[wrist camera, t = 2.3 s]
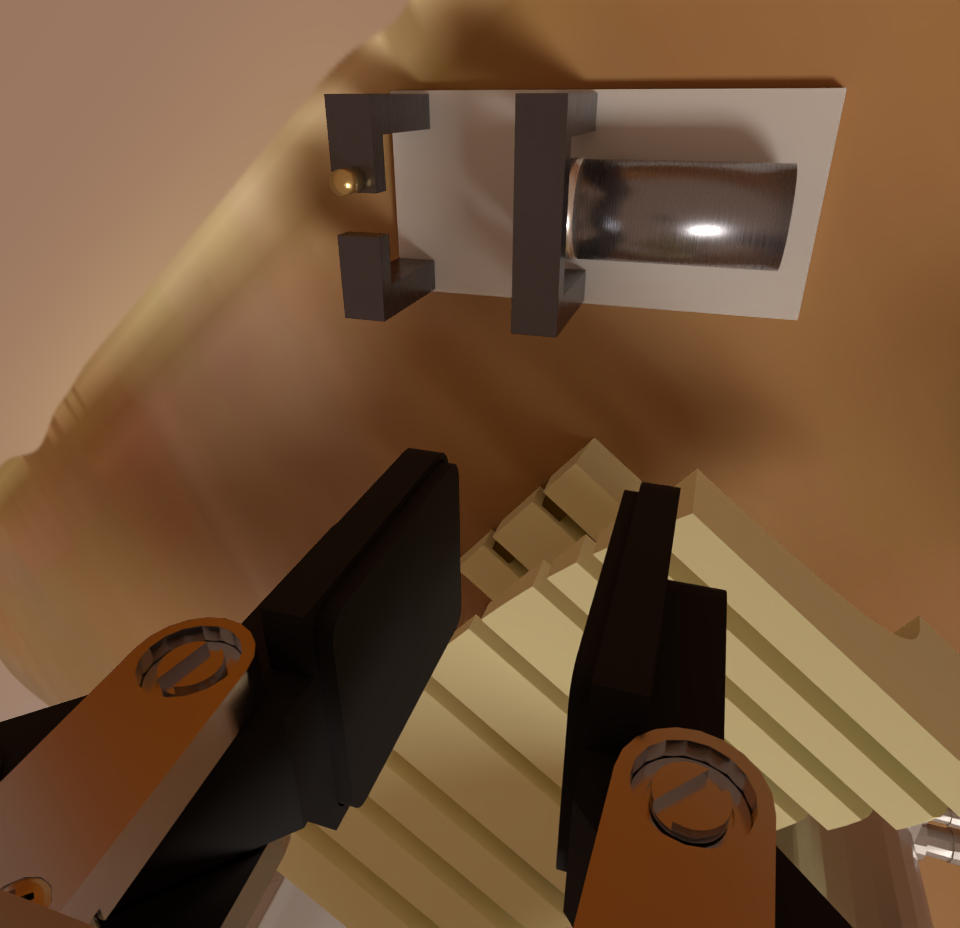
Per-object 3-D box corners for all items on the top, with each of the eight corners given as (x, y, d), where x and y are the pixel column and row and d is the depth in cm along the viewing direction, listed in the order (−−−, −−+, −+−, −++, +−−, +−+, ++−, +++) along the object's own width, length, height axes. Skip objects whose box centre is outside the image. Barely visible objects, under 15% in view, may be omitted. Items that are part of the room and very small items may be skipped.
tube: (793, 158, 30) (801, 166, 26) (774, 261, 32) (778, 282, 28) (561, 153, 32) (539, 160, 29) (556, 248, 34) (535, 266, 31)
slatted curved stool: (550, 761, 52) (474, 1032, 37) (389, 621, 51) (243, 843, 36) (933, 545, 36) (1073, 867, 21) (711, 331, 35) (692, 513, 20)
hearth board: (844, 88, 29) (846, 87, 28) (796, 316, 33) (797, 320, 33) (395, 90, 34) (390, 90, 34) (405, 286, 39) (401, 289, 38)
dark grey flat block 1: (597, 93, 31) (568, 92, 26) (584, 300, 35) (556, 337, 30) (553, 93, 32) (515, 93, 26) (545, 297, 36) (511, 333, 30)
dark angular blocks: (429, 93, 33) (355, 94, 27) (435, 288, 37) (373, 329, 31) (390, 93, 34) (308, 94, 27) (400, 286, 38) (332, 325, 32)
